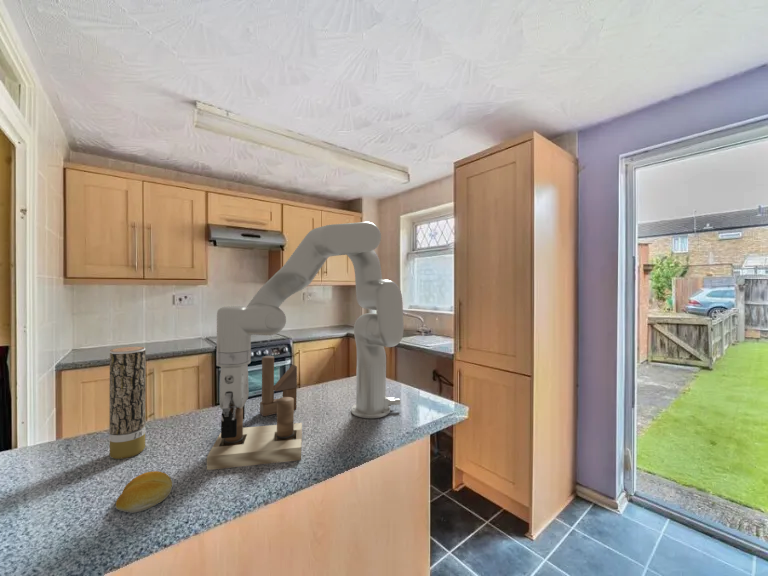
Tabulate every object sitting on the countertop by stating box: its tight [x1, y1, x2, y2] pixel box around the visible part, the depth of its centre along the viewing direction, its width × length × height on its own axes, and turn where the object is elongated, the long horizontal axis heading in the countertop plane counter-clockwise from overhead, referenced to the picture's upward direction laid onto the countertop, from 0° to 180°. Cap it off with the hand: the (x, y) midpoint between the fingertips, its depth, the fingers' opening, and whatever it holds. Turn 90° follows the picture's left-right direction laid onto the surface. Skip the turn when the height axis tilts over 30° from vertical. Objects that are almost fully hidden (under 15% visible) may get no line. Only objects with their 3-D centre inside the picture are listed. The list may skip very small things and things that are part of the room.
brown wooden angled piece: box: [259, 355, 298, 417], centre depth 107 cm, size 4×11×18 cm, turn 126°
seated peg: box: [276, 396, 295, 441], centre depth 83 cm, size 4×4×12 cm
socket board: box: [206, 422, 303, 471], centre depth 82 cm, size 20×14×3 cm
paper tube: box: [108, 346, 147, 460], centre depth 80 cm, size 7×7×25 cm
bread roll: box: [115, 470, 173, 514], centre depth 63 cm, size 8×9×4 cm
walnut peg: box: [224, 405, 244, 446], centre depth 80 cm, size 4×4×12 cm
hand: (233, 428), depth 80 cm, fingers open, 9 cm apart
